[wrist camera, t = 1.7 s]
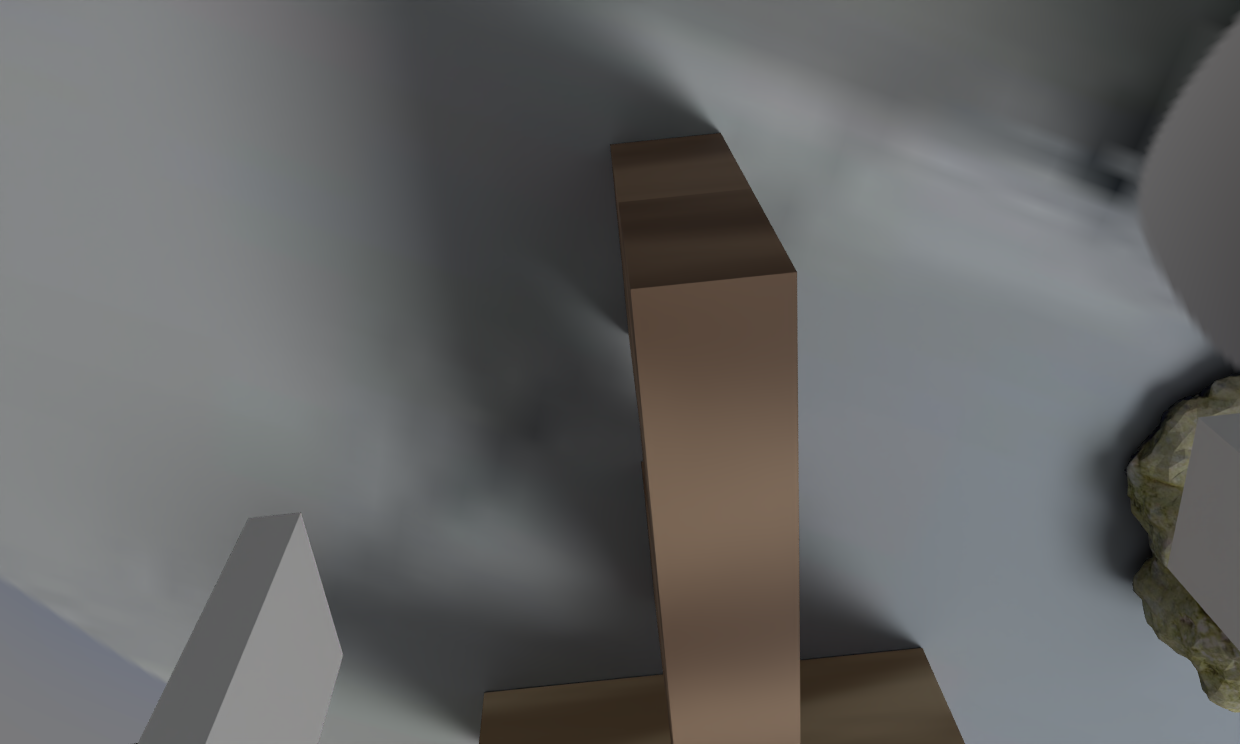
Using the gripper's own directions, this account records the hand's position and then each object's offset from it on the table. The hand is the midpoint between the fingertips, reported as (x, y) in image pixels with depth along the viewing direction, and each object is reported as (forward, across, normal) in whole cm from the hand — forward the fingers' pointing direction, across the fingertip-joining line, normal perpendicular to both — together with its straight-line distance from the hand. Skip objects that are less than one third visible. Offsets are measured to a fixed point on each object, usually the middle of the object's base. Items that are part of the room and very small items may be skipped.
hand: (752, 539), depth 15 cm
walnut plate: (+15, 0, -6) cm, 16 cm away
